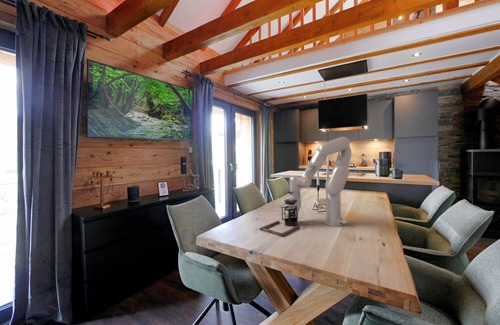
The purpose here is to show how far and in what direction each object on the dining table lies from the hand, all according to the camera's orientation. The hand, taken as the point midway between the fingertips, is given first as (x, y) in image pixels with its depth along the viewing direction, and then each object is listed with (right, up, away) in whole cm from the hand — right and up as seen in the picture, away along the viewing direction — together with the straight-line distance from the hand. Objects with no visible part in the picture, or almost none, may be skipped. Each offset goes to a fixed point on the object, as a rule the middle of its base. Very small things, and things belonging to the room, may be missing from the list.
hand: (295, 218), depth 156 cm
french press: (-5, -3, -5) cm, 7 cm away
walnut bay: (-13, -3, -13) cm, 19 cm away
